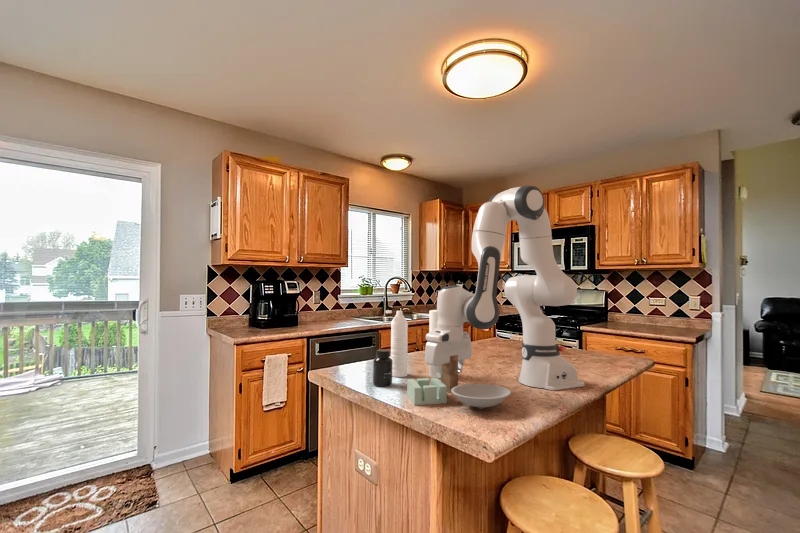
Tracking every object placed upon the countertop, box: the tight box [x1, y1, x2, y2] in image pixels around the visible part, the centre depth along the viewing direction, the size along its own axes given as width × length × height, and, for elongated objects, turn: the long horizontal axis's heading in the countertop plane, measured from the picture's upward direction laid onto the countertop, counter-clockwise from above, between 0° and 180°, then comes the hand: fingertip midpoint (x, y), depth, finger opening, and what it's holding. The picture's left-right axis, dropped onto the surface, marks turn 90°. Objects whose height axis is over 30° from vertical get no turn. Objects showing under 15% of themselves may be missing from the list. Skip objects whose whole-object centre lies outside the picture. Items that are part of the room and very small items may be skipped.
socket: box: [406, 377, 448, 406], centre depth 117 cm, size 10×10×5 cm
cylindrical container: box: [428, 309, 438, 378], centre depth 145 cm, size 7×7×25 cm
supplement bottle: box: [372, 348, 393, 388], centre depth 132 cm, size 7×7×12 cm
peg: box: [440, 355, 459, 394], centre depth 126 cm, size 4×4×12 cm
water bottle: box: [385, 309, 409, 378], centre depth 145 cm, size 9×6×25 cm
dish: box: [451, 383, 512, 409], centre depth 109 cm, size 18×14×5 cm
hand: (449, 375), depth 126 cm, fingers open, 8 cm apart
